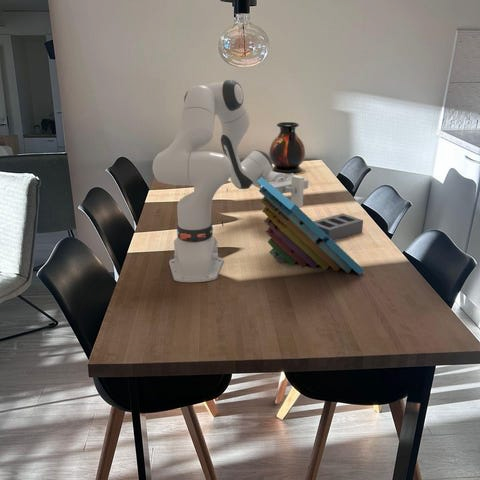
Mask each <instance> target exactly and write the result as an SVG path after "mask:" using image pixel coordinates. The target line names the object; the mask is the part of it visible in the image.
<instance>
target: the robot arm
mask: <svg viewBox="0 0 480 480" xmlns="http://www.w3.org/2000/svg"><path fill="white" fill-rule="evenodd" d="M183 97H184V98H183V107H182V111H181V119H180V123H179V124H180V125H179V129H178V132H177V135H176V136H175V138H174V140H173V142H171V144H170V145H169V146H168V147H167V148H165V149H164V150H162V151H160V152H159V153H158V154H157V155H156V156H155V158H154V159H153V161H152V162H153V163H152V167H151V168H152V173H153V175H154V177H155V179H156V180H157V181H158V182H159V183H162V184H166V185H167V184H168V185H172V186H192V187H193V192H191V193H189V194H187V195H184V196H183V197H181V198H180V199H179V201H178V202H177V205H176V206H177V207H176V209H177V226H176V233H177V238H175V239H174V240H173V245H174V254H173V256H172V259H170V260H169V261H168V262H169V263H168V264H169V267H170V268H169V269H170V271H171V275H172V278H173V280H174V281H176V282H180V283H201V282H202V283H203V282H209V281H210V282H211V281H214V280H216V279H217V278H218V276H219V274H220V271H221V270H222V267H223V264H224V263H225V261H224V258H222V257H219V253H218V251H219V246H218V239H217V238H216V237H214V235H213V234H214V233H213V230H214V228H213V223H212V217H211V216H212V215H211V214H212V203H213V199H214V196H215V195H216V193H217V191H218V190H219V189H220V188H221V187H222V186H223V185H225V184H226V183H228V181H229V180H230V181H231V183H232V184H233V185H234V186H235V188H236V189H238V190H248V189H250V187H252V186H254V187H256V188H258V189H259V190H260V189H261V188H262V187H263V186H262V185H260V184H259V183H258V182H257V181H258V179H259V178H260V177H262V178H263V179H265V180H266V181H267V182H268V183H269V184H271V185H272V186H273V187H274V188H276V189H277V190H278V191H279V192H281V193H282V194H283V195H284V194H287V193H289V194H291V193H297V189H296V188H291V182H292V176H294V175H296V174H295V173H279V172H276V171H274V170H273V167H274V166H273V163H272V162H271V159H270V157H269V154H267V153H266V152H264V151H263V150H262V151H261V150H258V149H257V150H256V149H255V150H253V151H252V152H250V153H249V155H247V156H246V157H245V159H243V160H242V161H241V160H240V157H239V153H238V150H239V145H240V144H241V141H242V139H243V138H244V136H245V135H246V133H247V132H248V129H249V126H250V115H249V112H248V111H247V108H246V106H245V104H244V103H245V102H244V92H243V89H242V86H241V85H240V83H238V82H237V81H236V80H234V79H233V80H232V79H228V80H227V79H226V80H224V81H217V82H212V83H211V82H210V83H206V84H201V85H200V84H197V85H194V86H192V87H191V88H190V89H189V90H188V91H186V93H185V95H184V96H183ZM216 116H217V117H218V119H219V122H220V124H221V137H220V145H221V148H222V151H223V153H220V152H215V151H209V150H208V151H204V150H202V151H199V150H200V149H201V148H204V147H206V146H207V145H209V143H210V142H211V141H212V139H213V137H214V126H215V118H216ZM303 178H304V189H303V190H305V189H309V180H308V179H307V178H305V177H303Z"/></svg>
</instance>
